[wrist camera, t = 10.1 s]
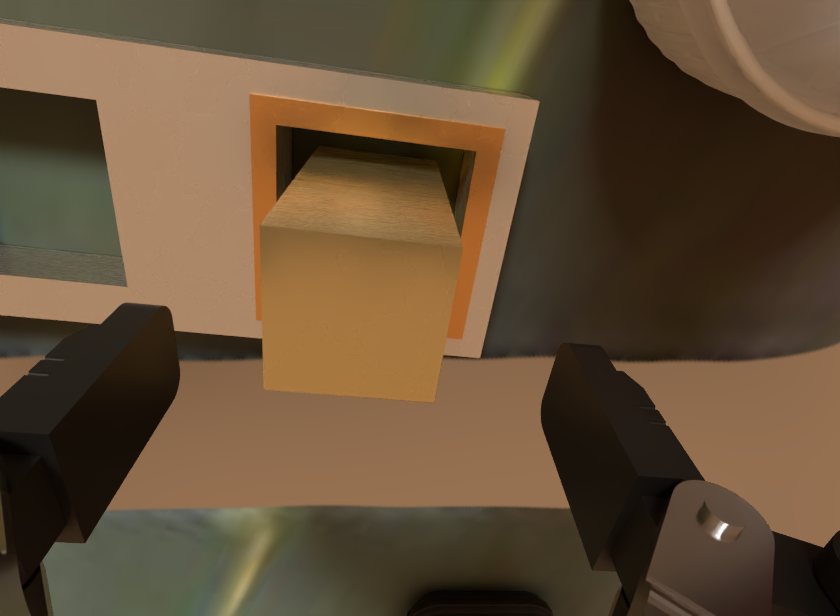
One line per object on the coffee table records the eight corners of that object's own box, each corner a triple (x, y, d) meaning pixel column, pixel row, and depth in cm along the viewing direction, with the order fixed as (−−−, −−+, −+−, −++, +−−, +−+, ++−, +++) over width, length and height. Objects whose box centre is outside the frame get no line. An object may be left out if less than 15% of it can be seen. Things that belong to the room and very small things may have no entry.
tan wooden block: (318, 145, 18) (259, 225, 11) (436, 160, 19) (463, 247, 11) (315, 255, 21) (263, 389, 13) (420, 266, 21) (434, 402, 13)
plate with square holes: (-143, -3, 16) (-240, -11, 13) (522, 93, 18) (541, 101, 15) (-45, 277, 20) (-103, 308, 18) (472, 327, 23) (480, 361, 20)
